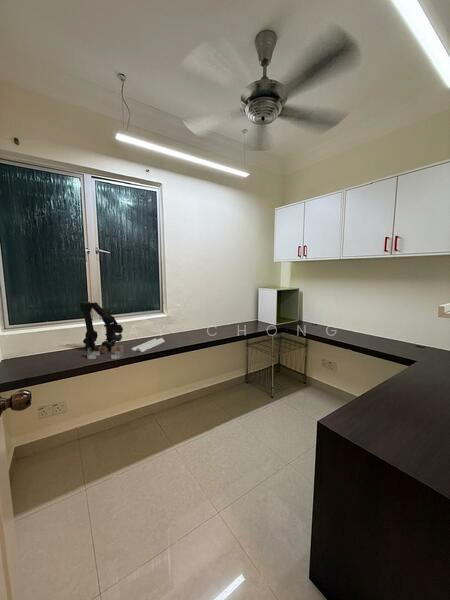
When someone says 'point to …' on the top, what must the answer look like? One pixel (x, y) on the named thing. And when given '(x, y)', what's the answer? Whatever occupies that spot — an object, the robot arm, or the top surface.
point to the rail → (113, 349)
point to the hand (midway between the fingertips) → (111, 350)
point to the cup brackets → (93, 354)
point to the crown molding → (148, 345)
